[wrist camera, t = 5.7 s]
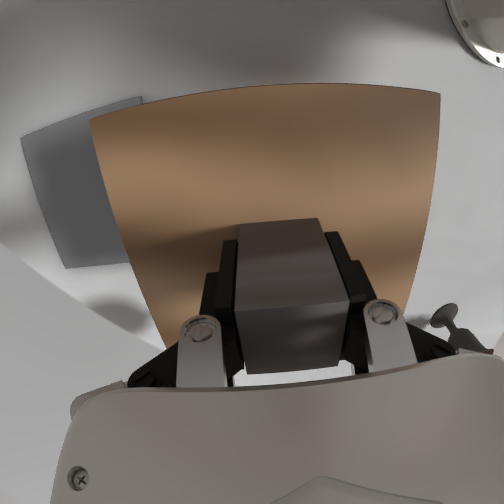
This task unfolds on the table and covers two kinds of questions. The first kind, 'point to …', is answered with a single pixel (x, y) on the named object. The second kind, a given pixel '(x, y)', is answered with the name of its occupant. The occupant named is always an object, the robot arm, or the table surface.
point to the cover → (272, 204)
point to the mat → (75, 190)
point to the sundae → (457, 330)
